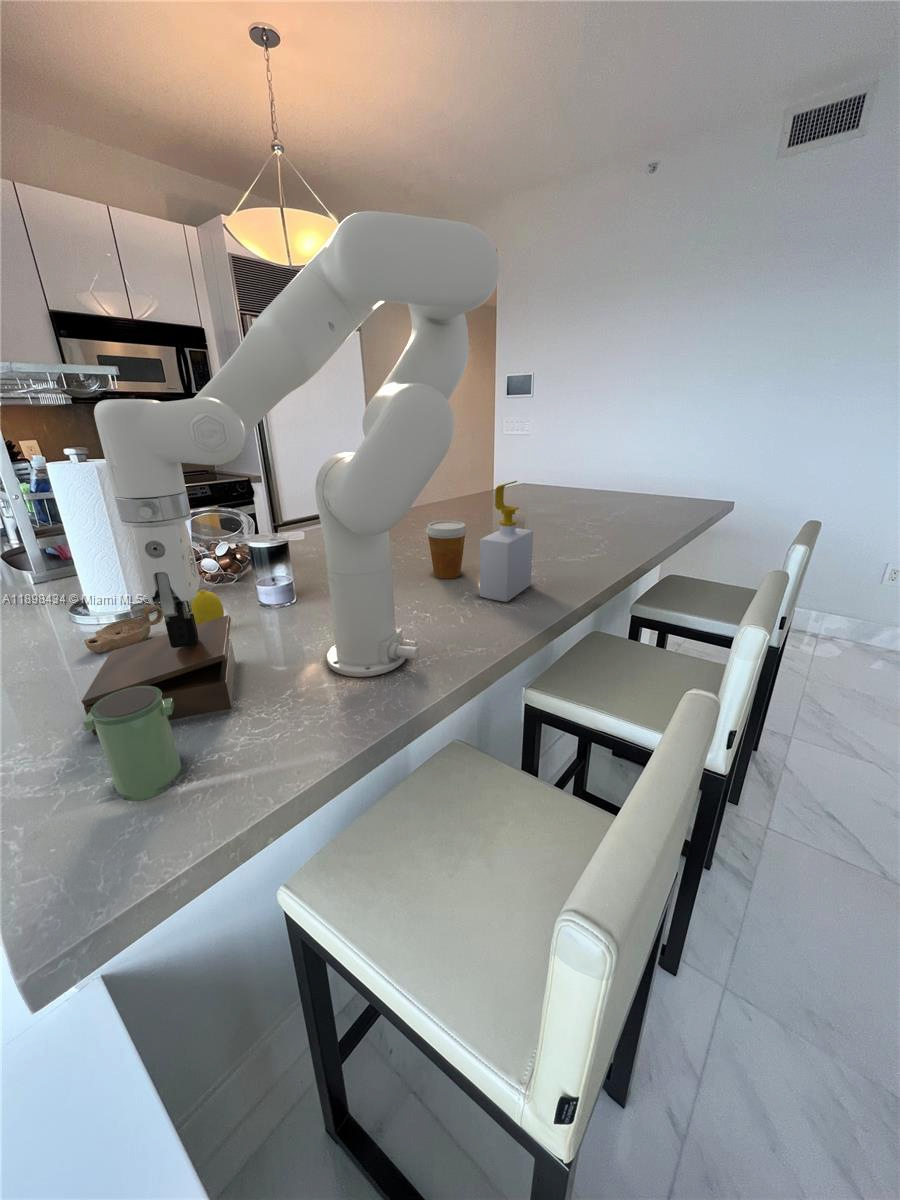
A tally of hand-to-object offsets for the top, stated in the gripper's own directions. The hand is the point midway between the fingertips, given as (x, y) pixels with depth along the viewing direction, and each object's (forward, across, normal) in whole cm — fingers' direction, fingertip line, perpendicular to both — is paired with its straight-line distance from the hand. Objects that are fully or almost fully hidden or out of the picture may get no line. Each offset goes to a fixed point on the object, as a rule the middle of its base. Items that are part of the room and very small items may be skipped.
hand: (185, 643), depth 66 cm
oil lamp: (+8, +23, +13) cm, 27 cm away
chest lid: (+2, 0, +3) cm, 3 cm away
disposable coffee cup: (+8, +36, -51) cm, 63 cm away
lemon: (+8, +22, 0) cm, 24 cm away
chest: (+8, 0, +3) cm, 9 cm away
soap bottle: (+8, +20, -58) cm, 62 cm away
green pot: (+8, -17, +3) cm, 19 cm away
